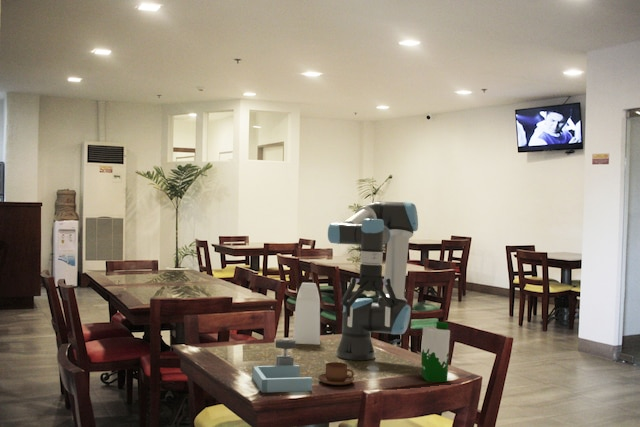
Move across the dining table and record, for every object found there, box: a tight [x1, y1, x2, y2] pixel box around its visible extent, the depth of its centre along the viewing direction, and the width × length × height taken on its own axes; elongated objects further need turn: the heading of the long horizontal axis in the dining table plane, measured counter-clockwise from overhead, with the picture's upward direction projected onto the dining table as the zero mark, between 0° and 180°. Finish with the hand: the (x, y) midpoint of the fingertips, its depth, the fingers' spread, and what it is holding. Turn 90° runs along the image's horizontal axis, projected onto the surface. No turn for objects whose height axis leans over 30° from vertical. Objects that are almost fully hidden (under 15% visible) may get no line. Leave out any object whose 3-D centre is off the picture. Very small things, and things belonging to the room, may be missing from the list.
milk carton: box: [420, 321, 451, 383], centre depth 222 cm, size 9×9×20 cm
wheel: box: [275, 338, 297, 356], centre depth 220 cm, size 7×7×6 cm
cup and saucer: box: [318, 361, 355, 386], centre depth 212 cm, size 12×12×6 cm
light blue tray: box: [251, 354, 313, 394], centre depth 210 cm, size 16×24×6 cm, turn 16°
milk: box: [292, 282, 321, 345], centre depth 281 cm, size 12×12×26 cm
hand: (368, 326), depth 215 cm, fingers open, 13 cm apart
